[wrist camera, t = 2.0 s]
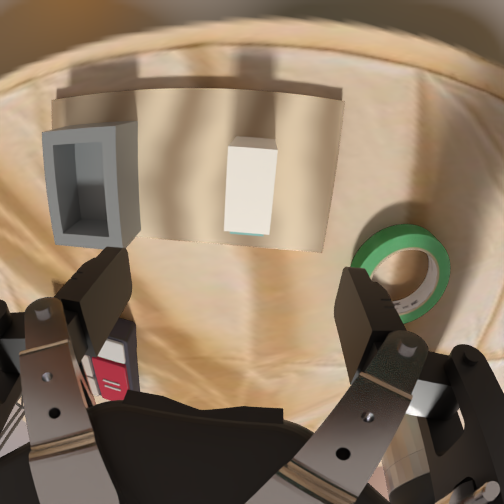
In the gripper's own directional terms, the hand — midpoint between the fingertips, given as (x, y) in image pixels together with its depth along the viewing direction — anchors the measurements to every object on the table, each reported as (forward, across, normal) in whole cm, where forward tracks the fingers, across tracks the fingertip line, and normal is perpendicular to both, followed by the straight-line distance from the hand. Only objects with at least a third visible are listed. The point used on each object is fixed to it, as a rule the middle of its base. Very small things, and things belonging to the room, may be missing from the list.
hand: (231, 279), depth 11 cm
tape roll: (+18, -16, +9) cm, 26 cm away
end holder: (+17, +14, +1) cm, 22 cm away
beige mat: (+18, +6, 0) cm, 19 cm away
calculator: (+18, +19, +26) cm, 37 cm away
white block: (+17, 0, 0) cm, 17 cm away
